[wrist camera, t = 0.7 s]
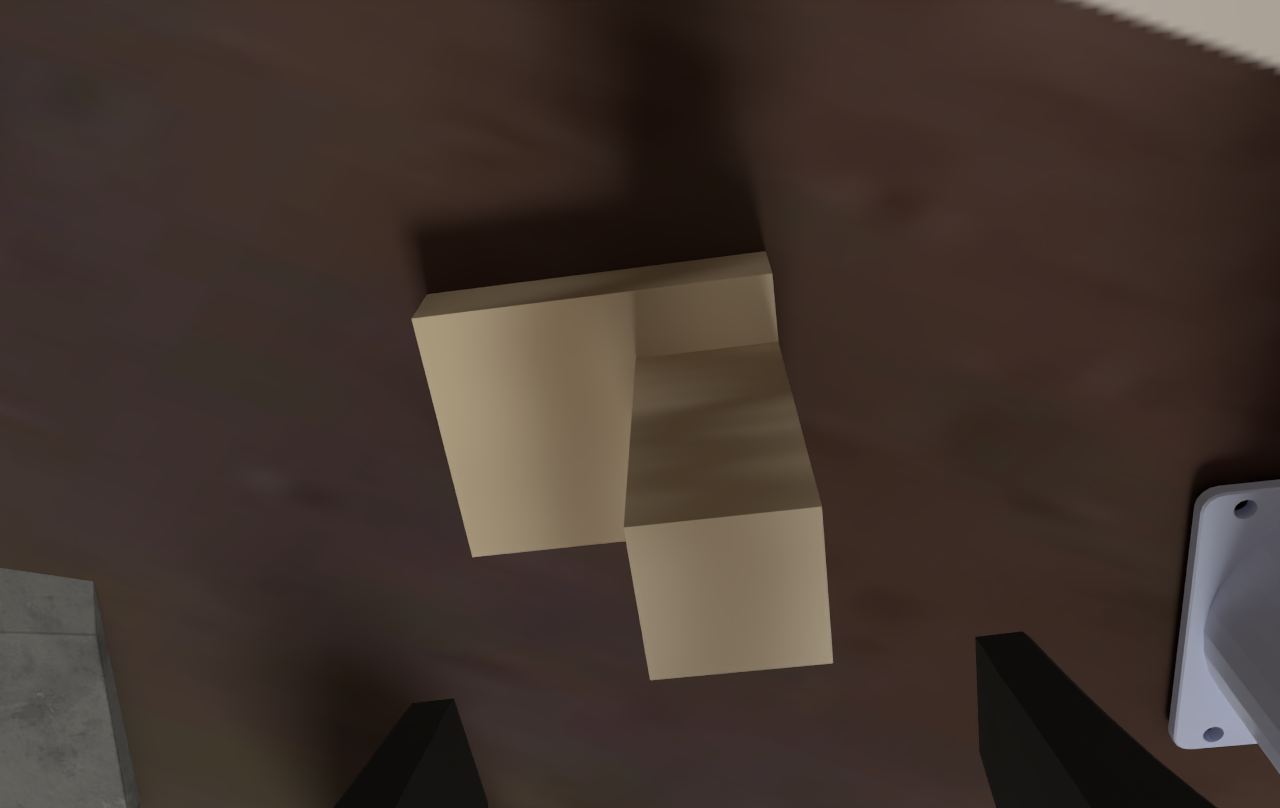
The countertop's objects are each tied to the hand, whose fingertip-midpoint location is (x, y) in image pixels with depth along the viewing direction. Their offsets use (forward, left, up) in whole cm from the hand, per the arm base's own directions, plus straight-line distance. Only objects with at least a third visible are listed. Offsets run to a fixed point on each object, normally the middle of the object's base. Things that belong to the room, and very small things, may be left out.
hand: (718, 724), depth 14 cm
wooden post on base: (+2, 0, -10) cm, 11 cm away
